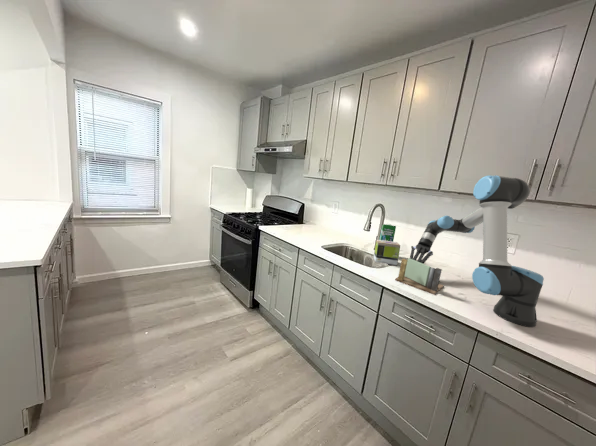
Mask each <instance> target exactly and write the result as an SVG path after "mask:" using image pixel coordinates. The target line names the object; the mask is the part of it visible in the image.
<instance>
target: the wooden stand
mask: <svg viewBox="0 0 596 446" xmlns="http://www.w3.org/2000/svg"><path fill="white" fill-rule="evenodd" d="M407 261H408V259H405V258H402V259H401V261H400V268H399V272H398V275H397V277H396V278H395V279H394V281H396V282H398V281H399V283H401V284H403V285H407V286H409V287H412V288H415V289H418V290H421V291H423V292H425V293H429V294H431V295H434V296H435V295H436V294H437V293H438V292H440V291H441V290H442V289H443V288H444V284H440V280H441V275H442V271H443V270H442V268H439V267H436V268H435V273H434V278H433V282H432V287H431V288H427V286H424V285H422V284H420V283H418V282H416V281H414V280H412V279H409V278H407V277H405V271H406V266H407Z"/></svg>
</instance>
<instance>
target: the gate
mask: <svg viewBox="0 0 596 446" xmlns="http://www.w3.org/2000/svg"><path fill="white" fill-rule="evenodd" d="M407 260H408V261H407V266H406V271H405V277H407V278H409V279H412V280H414V281H416V282H418V283H420V284H422V285H424V286H427V288H431V287H432V282H433V278H434V273H435V269H436V268H435V267H432V266H429V265H428V264H425V263H424V264H423V263H420V262H418V261H417V260H416V261H415V260H413V259H410V257H408V258H407Z"/></svg>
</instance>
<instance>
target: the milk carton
mask: <svg viewBox="0 0 596 446" xmlns="http://www.w3.org/2000/svg"><path fill="white" fill-rule="evenodd" d="M396 229H397V226H396V225H392V224H390V223H386V224H385V223H384V224H382V225H381V230H380V234H379V235H380V236H379V239H378V240H384V241H391V242H394V239H395V233H396Z"/></svg>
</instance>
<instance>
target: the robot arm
mask: <svg viewBox="0 0 596 446" xmlns="http://www.w3.org/2000/svg"><path fill="white" fill-rule="evenodd" d="M530 191H531V190H530V186H529V184H528V183H527V182H526V181H525V180H523V179H521V178H519V177H518V178H516V177H510V176H509V177H508V176H500V175H492V174H490V175H485V176H483V177H481V178H480V179H478V181H477V182H476V183H475V185H474V187H473V192H472V193H473V197H474V198H475V199H476V200H478V201H479V206H480V207H479V208H477V209H475V210H474V211H472V212H471V213H469V214H467V215H466V216H464V217H463V218H461V219H456V218H455V219H453V217H451V216H450V215H443V216H442V217H439V218H437V219H436V220H435V219H434V220H430V221H429V222H428V223H427V225H426V227H425V230H424V232H423V233H422V236H421V237H420V239H419V241H418V242H417V244H416V245H411V251H410V256H409V258H410V259H413V260H415V261H418V262H420V263H423V264H425V263H426V262H427V260H429V258H430V257H432V256H433V255H434V252H433V251H432V250H431V248H432V247H433V244H434V242H435V240H436V238H437V236H438V235H439V234H441V233H442V232H453V233H462V234H471V233H473V232H474V230H475V227H477V226H479V225H480V224H483V227H482V228H483V229H482V231H483V232H482V236H483V238H482V244H483V245H482V260H481V261H480V262H478V267H476V268H475V269H474V270H473V271H472V273H471V274H472V276H471V278H472V282H473V283H472V284H473V285H474V286H475V287H476V289H477V290H478V291H479V292H481V293H483V294H486V295H490V296H491V295H492V296H501V298H499V299H498V301H497V302H496V304H494V306H493V309H492V310H493V313H494V314H496V316H498V317H500V318H502V319H504V320H506V321H508V322H511V323H513V324H516V325H519V326H522V327H528V328H529V327H531V328H534V327H536V326H537V323H538V317H537V309H536V306H537V304H538V300H539V298H540V294H541V292H542V291H541V290H542V288H543V285H544V281H545V280H544V279H545V278H544V276H543V275H542V274H541V273H537V272H536V271H532V270H530V269H527V268H523V267H520V266H515V265H512V264H511V263H509V261H508V210H512V209H513V210H514V208H516V207H518V206H520V205H522V204H524V202H526V200H527V199H528V198H529V196H530ZM415 250H416V252H415Z"/></svg>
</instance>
